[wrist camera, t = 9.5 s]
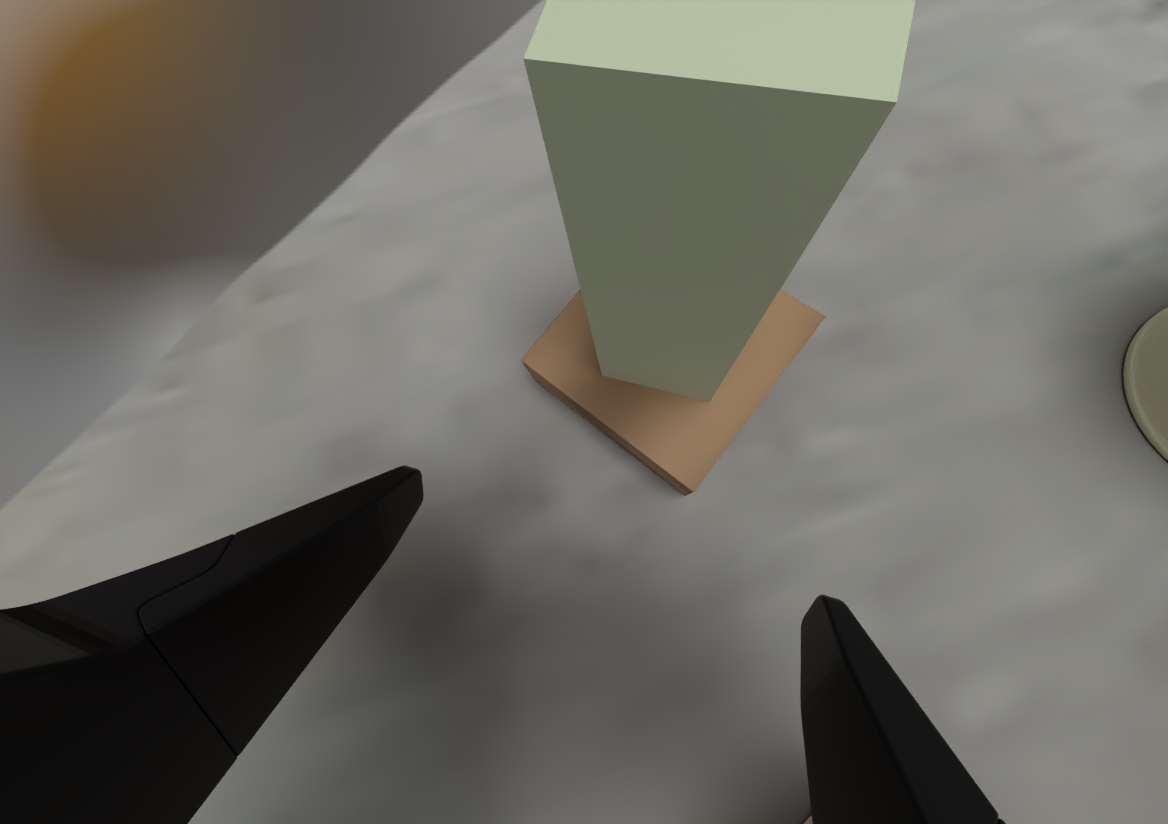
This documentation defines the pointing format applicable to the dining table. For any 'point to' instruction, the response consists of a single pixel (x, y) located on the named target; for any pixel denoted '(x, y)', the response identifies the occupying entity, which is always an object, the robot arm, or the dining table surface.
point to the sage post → (702, 159)
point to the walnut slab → (662, 419)
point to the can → (1149, 380)
